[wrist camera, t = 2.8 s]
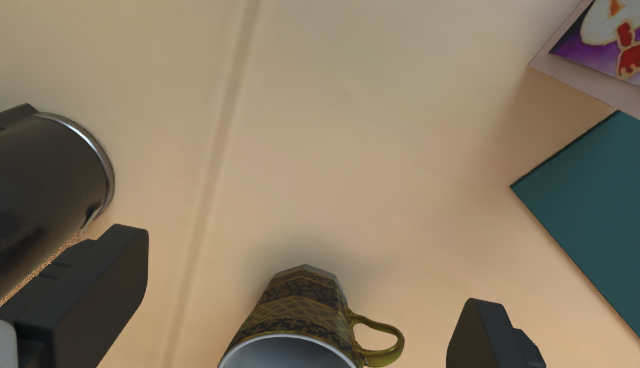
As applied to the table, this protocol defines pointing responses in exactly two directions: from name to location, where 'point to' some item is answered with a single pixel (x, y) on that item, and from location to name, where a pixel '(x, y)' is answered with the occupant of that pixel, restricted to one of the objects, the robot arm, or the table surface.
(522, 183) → the placemat
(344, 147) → the table surface
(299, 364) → the ceramic cup
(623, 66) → the greeting card
